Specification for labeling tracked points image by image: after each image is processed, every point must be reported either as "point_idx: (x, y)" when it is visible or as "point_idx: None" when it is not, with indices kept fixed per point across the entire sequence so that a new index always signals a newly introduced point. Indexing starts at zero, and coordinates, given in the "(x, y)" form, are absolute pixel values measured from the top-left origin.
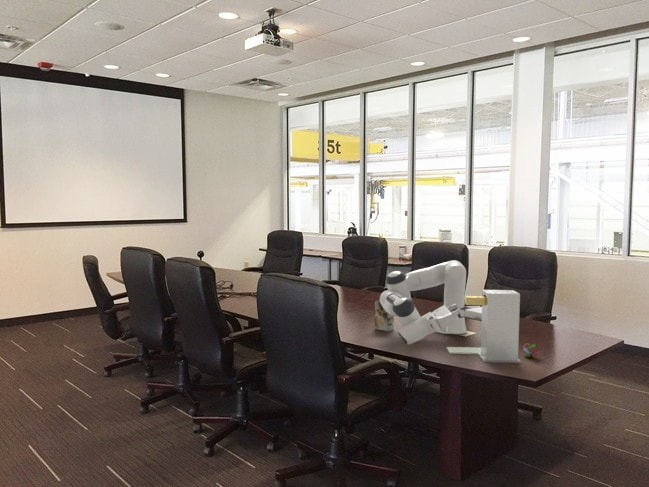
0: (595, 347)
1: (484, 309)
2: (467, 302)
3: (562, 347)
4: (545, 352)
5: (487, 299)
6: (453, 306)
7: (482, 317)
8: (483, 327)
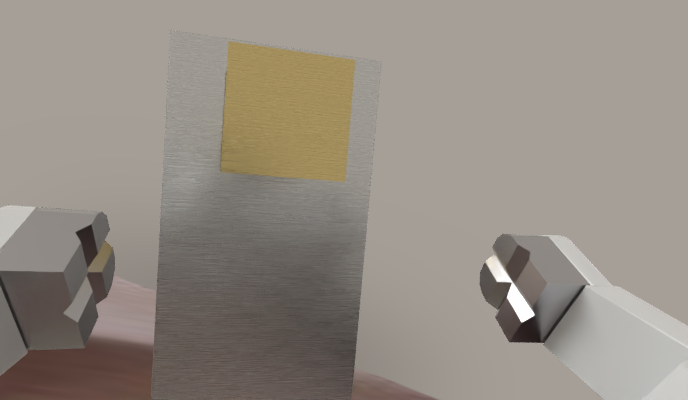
0: (124, 290)
1: (262, 217)
2: (344, 141)
3: (98, 324)
4: (148, 360)
5: (368, 115)
6: (73, 285)
7: (187, 305)
8: (234, 385)
